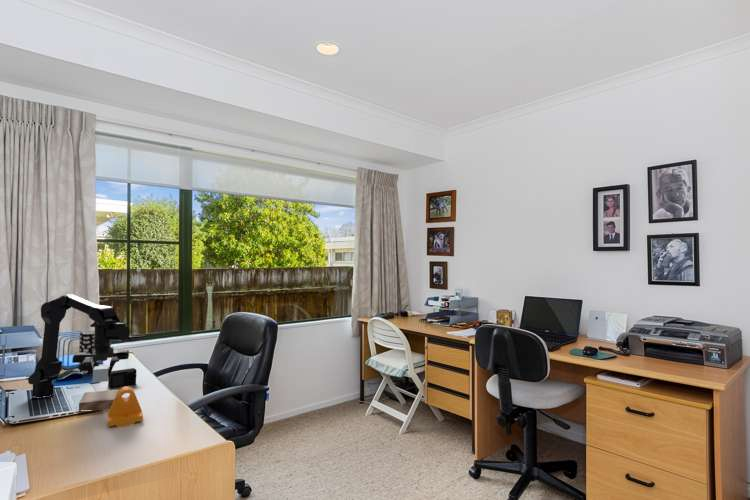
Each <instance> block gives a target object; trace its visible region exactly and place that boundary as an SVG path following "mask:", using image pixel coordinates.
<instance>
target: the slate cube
mask: <svg viewBox="0 0 750 500" xmlns="http://www.w3.org/2000/svg"><path fill="white" fill-rule="evenodd" d="M109 367H110V365H99V366H96V367H94V369H93V378H92V383H103V382H108V378H109V377H108V372H109Z"/></svg>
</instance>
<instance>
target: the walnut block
mask: <svg viewBox="0 0 750 500" xmlns="http://www.w3.org/2000/svg"><path fill="white" fill-rule="evenodd" d="M120 389H121V388H117V389H108V390H98V391H97V390H96V391H87V392H86V391H85V392H83V395H82V397H81V399H80V401H79V403H78V412H79V411H81V410H93V411H92V412H95V411H104V410H110V408H111V406H112V403H113V401H114V399H115V397H116V395H117V393H118V391H119V390H120Z"/></svg>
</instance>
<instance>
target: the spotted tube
mask: <svg viewBox="0 0 750 500" xmlns="http://www.w3.org/2000/svg"><path fill="white" fill-rule="evenodd" d="M81 332H82V333H79V334H80V335H79V336H80V337H79V338H80V339H79V348H78V349H79V351H78V353H80V352H87V354H92V352H93V348H94V333H95V330H93V331H91V330H90V331H81ZM93 366H94V367H96V366H100V364H99V361H93ZM77 368H78V369H77V372H78V371H80V372H82V373H83V374H84V375H83V376H91V374H90V371H89V369H88V367H87V365H86V364H83V362H79V365H78V367H77Z"/></svg>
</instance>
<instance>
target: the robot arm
mask: <svg viewBox="0 0 750 500" xmlns="http://www.w3.org/2000/svg"><path fill="white" fill-rule="evenodd" d="M71 308H72V309H74V310H77V311H79V312H81V313H83V314H84V313H85V314H86V315H87V316H88V318H89V319H90V320H91V321H93V323H91V324H90V325H89V327H91V328H94V331H95V333H94V348H93V352H92V354H87V352H80V353H79V352H76V353H74V354H73V355H74V356H73V359H72V363H78V362H83V364H86V365H87V367H88V369H89V371H90V374H91V375H90V377H91V379H93V369H94V366H93V361H103V362H105V361H108V359H109V358H110V361H109V372H108V377H109V376H110V374H111V371H113V368H114V367H115V364H116V363H119V362H120V361H121V360H128V359H129V357H130V350H129V349H118V350H117V352H114V346H111V345H112V341H121V342H122V341H123V342H124V341H126V340H128V338H129V336H130V334H131V332H130V331H131V330H130V329H129V327H128V326H127V323H126V322H121V320H120V318H119V316H118V315H117V313H116V311H115V308H114V307H113V306H109V305H101V304H96V303H94V302H91V301H89V300H86V299H84V298H82V297H80V296H77V295H76V294H72V293H71V294H69V293H68V294H63V295H61V296H59V297H58V298H55V299H52V300H50V301H45V302H44V303H43V304H42V305H41V306H40V317H41V319H42V320H43V322H44V329H43V330H44V331H43V338H42V339H43V341H42V347H41V357H40V359H39V360H38V362H37V363H36V364H35V367H34V372H33V373H32V374H30V375H29V376H28V377H27V381H28V384H29V385H32V395H31V397H32V396H36V397H43V396H50V395H52V396H53V395H54V394H55V382H54V381H55V380H58V378H59V375H60V374H61V371H62V367H61V365H62V361H59V360H58V358H57V357H58V346H59V337H60V336H59V335H60V334H59V333H60V328H61V327H60V326H61V322H62V321H63V319H64V318H65V317H66V314H67V311H68V310H70V309H71Z"/></svg>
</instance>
